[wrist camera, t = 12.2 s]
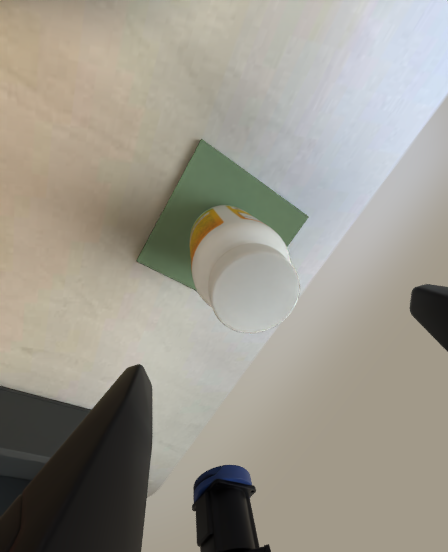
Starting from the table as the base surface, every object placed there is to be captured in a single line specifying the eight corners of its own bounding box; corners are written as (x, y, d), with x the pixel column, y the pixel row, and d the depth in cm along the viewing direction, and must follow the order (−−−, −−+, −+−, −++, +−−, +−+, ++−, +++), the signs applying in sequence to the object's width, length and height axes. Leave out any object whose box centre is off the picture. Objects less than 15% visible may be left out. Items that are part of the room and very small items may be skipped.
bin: (124, 418, 26) (112, 469, 21) (79, 488, 29) (60, 545, 25) (-14, 382, 22) (-64, 435, 17) (-49, 468, 25) (-98, 532, 20)
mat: (306, 215, 20) (308, 216, 20) (240, 310, 23) (240, 312, 22) (201, 139, 17) (201, 138, 16) (137, 259, 19) (136, 261, 19)
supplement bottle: (196, 276, 20) (207, 358, 11) (182, 211, 18) (180, 249, 9) (259, 263, 21) (316, 332, 12) (252, 198, 18) (316, 222, 10)
